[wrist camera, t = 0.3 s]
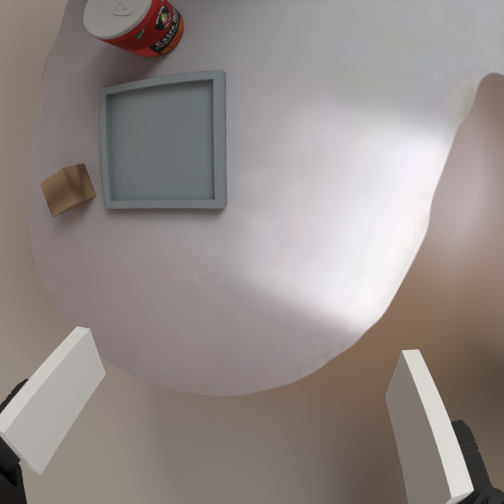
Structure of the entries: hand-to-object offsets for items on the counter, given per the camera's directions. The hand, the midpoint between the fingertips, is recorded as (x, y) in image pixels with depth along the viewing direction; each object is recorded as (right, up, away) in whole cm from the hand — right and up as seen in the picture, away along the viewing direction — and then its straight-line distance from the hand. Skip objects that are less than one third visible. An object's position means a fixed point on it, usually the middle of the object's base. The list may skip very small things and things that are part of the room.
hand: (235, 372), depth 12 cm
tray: (-10, +18, +23) cm, 31 cm away
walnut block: (-24, +14, +27) cm, 39 cm away
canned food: (-11, +32, +18) cm, 39 cm away
